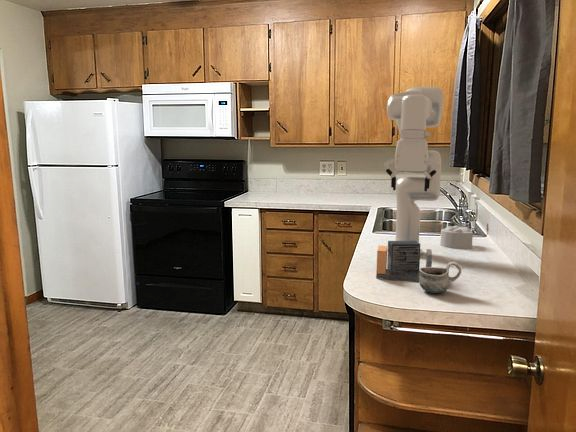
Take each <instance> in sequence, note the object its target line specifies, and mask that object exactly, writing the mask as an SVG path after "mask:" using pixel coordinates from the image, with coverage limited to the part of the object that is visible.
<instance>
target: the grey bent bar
mask: <svg viewBox="0 0 576 432" xmlns="http://www.w3.org/2000/svg"><path fill="white" fill-rule="evenodd" d="M432 252H433V251H432V249H429V248H426V255H425V267H433V264H432V263H433V253H432ZM375 278H376V279H378V280H389V281H391V280H392V281H405V282H417V283H418V282H419V278H420V271H412V270H398V269H388V268H386V273H385V274H378V273H376V275H375Z"/></svg>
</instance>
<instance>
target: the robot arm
mask: <svg viewBox="0 0 576 432" xmlns="http://www.w3.org/2000/svg"><path fill="white" fill-rule="evenodd" d="M386 104H387V105H386V114H387V117H388V118H389V119H390V120H392V121H395V122H396V123H395V124H396V126H397V129H398V131H399V139H398V140H397V142H396V147H395V155H394V158H391V159H390V160H388V161H386V162H384V163H383V165H382V166H383V167H384V170H385V172H386V173H387V174H388V175H389V176H390V178H391V181H390V187H391V188H393V189H392V191H395V194H396V195H395V197H396V217H395V218H396V219H395V221H396V222H395V240H394V241H417V242H418V243H420V226H421V210H420V208H419V206H418V205H417V204H416V203H415V201H418V202H419V201H420V202H421V201H423V202H425V201H426V202H428V201H429V202H434V201H435V202H436V201H437V200H438V199H439V197H440V193H441V175H442V174H441V173H442V157H441V154H440V152H439V151H437V150H432V149H430V150H429V144H428V140H426V138H427V137H431V131H427V130H426V128H436V127H438V126H439V125H440V123H441V122H442V117H443V108H444V93H443V91H442V89H441V87H438V86H415V87H414V86H412V87H410V88H408V89H406V90H405V91H403V92H398V93H393V94H391V95H390V96H389V98H388V100H387V103H386ZM392 164H394V171H392V170H391V169H390V167H389V166H390V165H392ZM398 173H405V174H414V175H415V174H416V175H417V174H418V175H424V177H423V176H403V177H400V178H398V179H397V177H396V176H397V174H398ZM422 253H423V250H422V248H420V255H422Z"/></svg>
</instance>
